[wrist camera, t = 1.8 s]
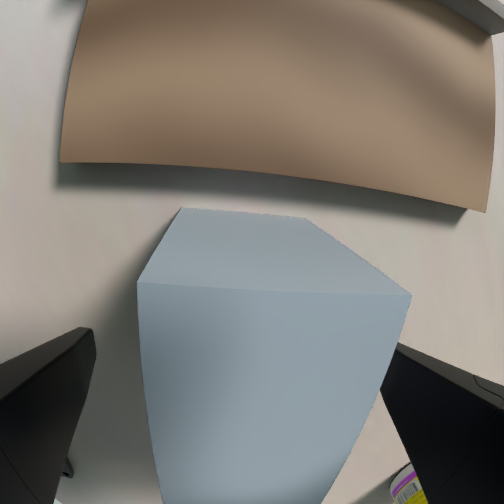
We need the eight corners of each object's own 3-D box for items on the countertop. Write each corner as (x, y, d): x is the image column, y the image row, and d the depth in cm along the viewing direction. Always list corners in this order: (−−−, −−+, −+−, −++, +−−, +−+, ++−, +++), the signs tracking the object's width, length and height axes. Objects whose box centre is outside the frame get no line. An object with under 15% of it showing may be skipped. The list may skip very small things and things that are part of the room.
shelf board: (468, 208, 12) (513, 222, 10) (73, 161, 10) (32, 165, 7) (474, 22, 10) (512, 10, 7) (123, -59, 7) (107, -97, 4)
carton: (305, 217, 12) (412, 295, 5) (278, 372, 14) (320, 503, 7) (176, 206, 11) (123, 280, 4) (173, 369, 13) (157, 508, 6)
